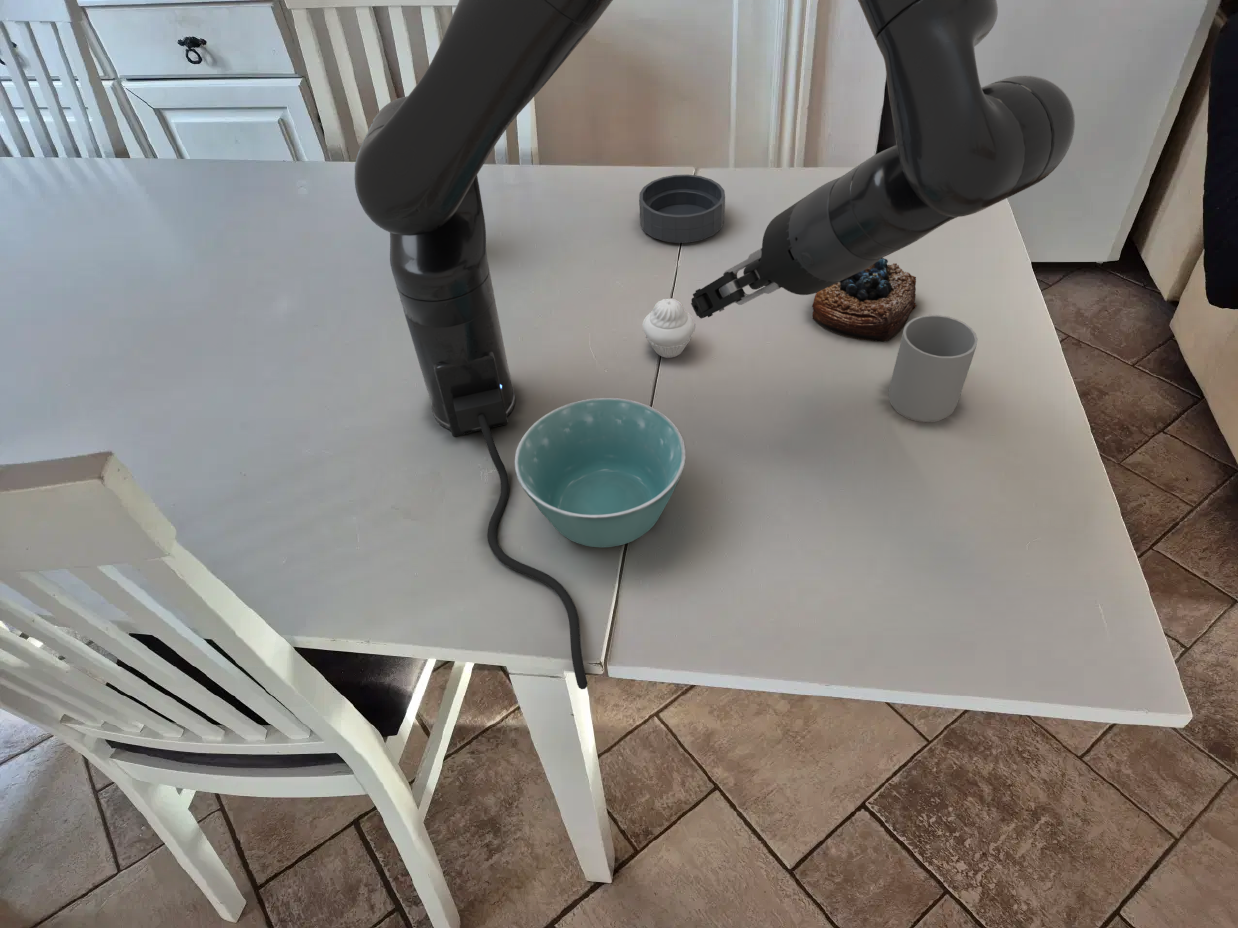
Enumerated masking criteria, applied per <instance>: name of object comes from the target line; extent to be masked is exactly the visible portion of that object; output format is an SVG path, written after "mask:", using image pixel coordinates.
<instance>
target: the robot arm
mask: <svg viewBox="0 0 1238 928" xmlns="http://www.w3.org/2000/svg"><path fill="white" fill-rule="evenodd" d="M613 1H614V0H458V2H457V4H456V7H455V9H454V11H453V13H452V16H451V17H450V21H449V23H448V25H447V27H446V30H445V32H444V33H443V37H442V38H441V41H440V44H439V46H438V48H437V50H436V52H435V54H434V56H433V58H432V60H431V62H430V63H429V65H428V67H427V69H426V70H425V72H424V74H423V75H422V76H421V77H420V79H419V80H418V83H417V84H416V85H415V87H414V88H413V89H412V90H411V92H410V93H409V94H408V96H402V97H399V98H396V99H393V100H392V101H390V102H388V103H387V104H386V105H384V106H383V107H382V108H381V109H380V110H379V111H378V112H377V114H376V115H375V116H374V118H373V120H372V121H371V124H370V126H369V127H368V130H367V133H366V134H365V137H364V139H363V141H362V143H361V145H360V147H359V149H358V152H357V154H356V159H355V164H354V177H353V180H354V188H355V192H356V197H357V199H358V202H359V204H360V206H361V208H362V209H363V211H364V213H365V215H366V216H367V217H368V218H369V219H370V220H371V222H373V223H374V224H375V225H376V226H377V227H379V228H380V229H382V230H383V231H386V232H388V233H389V264H390V269H391V272H392V276H393V279H394V284H395V286H396V289H397V293H398V296H399V300H400V303H401V306H402V310H403V313H404V317H405V321H406V323H407V328H408V331H409V334H410V338H411V341H412V345H413V347H414V351H415V354H416V358H417V360H418V364H419V367H420V368H419V369H420V371H421V375H422V378H423V381H424V385H425V387H426V388H425V389H426V391H427V395H428V398H429V401H430V404H431V405H430V406H431V411H432V414H433V417H434V419H435V421H436V422H437V423H438V424H439V425H440V426H442V427H443V428H445V429H447V430H450V431H451V435H452V436H453V437H457V436H463V435H467V434H473V433H475V432H480V431H481V433H482V436H483V438H484V441H485V444H486V447H487V449H488V452H489V454H490V458H491V461H492V462H493V465H494V466H495V468H496V471H497V474H498V476H499V480H500V492H499V493H500V494H499V498H498V501H497V503H496V506H495V508H494V511H493V512H492V515H491V517H490V520H489V523H488V526H487V531H486V532H487V533H486V536H487V543H488V546H489V548H490V550H491V552H492V554H493V555H494V556H495V557H496V559H497V560H498V561H499V562H501V563H502V564H503V565H504V566H506V567H508V568H509V569H511V570H514V571H515V572H518V573H520V574H523V575H524V576H527V577H529V578H532V579H534V580H536V581H539V582H541V583H542V584H544V585H546V586H547V587H549V588H550V589H551V590H553V592H555V593H556V594H557V596H558V597H559V599H560V600H561V602H562V604H563V606H564V608H565V611H566V613H567V617H568V622H569V623H568V624H569V625H568V626H569V639H570V641H569V642H570V653H571V661H572V667H573V672H574V678H575V681H576V685H577V687H578V688H579V689H580V690H585V689H587V688H588V684H589V682H588V679H587V675H586V671H585V665H584V660H583V653H582V641H581V627H580V619H579V614H578V610H577V607H576V605H575V601H574V600H573V598H572V597H571V595H570V594H569V592H568V591H567V590H566V588H565V587H564V586H563V585H562V584H561V583H560V582H559V581H558V580H557V579H555V578H554V577H552V576H551V575H550V574H547V573H545V572H544V571H542V570H539V569H538V568H537V569H536V568H534V567H532V566H529V565H527V564H525V563H522V562H520V561H518V560H515V559H514V558H512V557H510V556H509V555H508V554H506V553H505V551H504V550H502V548H501V546H500V544H499V542H498V539H497V529H498V526H499V523H500V520H501V518H502V515H503V514H504V511H505V509H506V505H507V503H508V499H509V494H510V481H509V480H510V479H509V475H508V471H507V469H506V466H505V464H504V462H503V460H502V458H501V455H500V453H499V450H498V448H497V445H496V442H495V439H494V437H493V434H492V431H491V429H493V428H497V427H501V426H505V425H508V423H509V420H508V417H509V415H511V413H512V411H513V410H514V409H515V408H514V407H515V405H516V393H515V389H514V387H513V384H512V383H513V382H512V378H511V373H510V368H509V363H508V359H507V354H506V349H505V348H506V347H505V342H504V338H503V332H502V327H501V323H500V317H499V311H498V307H497V303H496V302H497V301H496V297H495V291H494V286H493V281H492V276H491V270H490V265H489V259H488V253H487V229H486V219H485V213H484V207H483V201H482V196H481V195H482V194H481V190H480V183H479V177H478V174H479V172H480V171H481V169H482V168H483V166H484V165H485V163H486V161H487V159H488V158H489V156H490V155H491V153H492V151H493V150H494V148H495V146H496V145H497V143H498V142H499V140H500V139H501V137H502V136H503V134H504V133H505V132H506V130H507V129H508V127H510V125H511V124H512V123H513V121H514V120H515V119H516V118H517V117H518V115H519V114H520V113H521V112H522V111H523V110H524V109H525V108H526V106H527V105H528V104H529V103H530V102H531V101H532V100H533V99H534V97H535V96H536V95H537V94H538V93H539V92H540V91H541V90H542V89H543V87H544V86H545V85H546V84H547V83H548V81H549V80H550V79H551V78H552V77H553V76H554V74H555V73H556V72H557V71H558V70H559V69H560V67H561V66H562V65H563V64H564V63H565V61H566V60H567V59H568V57H569V56H570V55H571V54H572V53H573V52H574V50H575V49H576V48H577V47H578V45H579V44H580V43H581V42H582V41H583V39H584V38H585V37H586V36H587V35H588V33H589V32H590V31H591V30H592V28H593V27H594V25H595V24H596V23H597V22H598V21H599V19H600V18H601V16H603V14H604V13H605V11H607V9H608V8H609V7H610V5H611V3H612V2H613ZM857 2H858V3H859V7H860V9H861V11H862V13H863V15H864V18H865V20H866V22H867V25H868V27H869V29H870V31H871V34H872V36H873V39H874V40H875V44H876V45H877V48H878V49H879V51H880V54H881V55H882V58H883V61H884V65H885V76H886V85H887V92H888V99H889V106H890V110H891V116H892V124H893V130H894V131H893V132H894V136H895V138H894V139H895V143H896V144H895V145H893V146H891V147H888V148H887V149H884V150H882V151H880V152H878V153H876V154H874V155H872V156H871V157H869V158H867V159H866V160H864V161H863V162H861V163H860V164H858V165H857V166H855V167H854V168H852V169H851V170H848V172H846V173H845V174H843V175H842V176H839V177H837V178H834V179H832V180H830V181H827V182H826V183H824V184H822V185H820V186H819V187H818V188H816V189H815V190H813V191H812V192H810V193H809V194H807V195H806V196H804V197H802V198H801V199H799V200H798V201H797V202H795V203H794V204H792V205H790V206H789V207H788V208H786V209H785V210H783V211H781V212H780V213H778V214H777V215H775V217H773V218H772V219H771V220H770V222H769V223H768V225H767V226H766V228H765V230H764V232H763V236H762V242H761V243H762V244H761V248H759V249H757V250H755V251H753V252H752V253H750V254H749V255H748V258H746V259H745V260H743V261H741V262H740V263H737V264H735V265H734V266H732V267H730V268H728V269H726V270H725V271H724V272H723V273H722V275H721V276H720V277H718V278H717V279H714V281H711V282H710V283H708V284H707V285H705V286H704V287H701V288H698V289H696V290H695V291H694V293H692V296H693V297H692V298H691V302H690V305H691V308H692V309H693V312H694V313H695V316H696V317H698V318H699V319H700V320H701V319H705V318H710V317H712V316H714V314H715V313H717V312H719V313H720V312H722V311H724V310H725V308H727V307H728V306H731V305H732V304H734V303H735V304H737V305H739V306H741V305H744V304H747V303H749V302H750V301H752V300H754V299H755V298H758V297H760V296H762V295H764V294H766V295H767V294H768V295H769V294H772V293H773V292H775V291H777V290H780V289H784V290H785V291H788V292H789V293H791V294H794V295H800V296H810V295H814V294H816V293H817V292H819V291H821V290H823V289H825V288H827V287H829V286H831V285H834V284H836V283H838V282H840V281H842V280H844V279H846V278H848V277H850V276H853V275H855V274H857V273H859V272H861V271H863V270H865V269H867V268H869V267H870V266H872V265H873V264H874V263H876V262H877V261H878V260H880V259H881V258H886V257H888V256H889V255H892V254H893V253H896V252H898V251H901V250H902V249H904V248H906V247H908V246H910V245H912V244H914V243H915V242H918V241H919V240H921V239H922V238H924V237H926V236H927V235H929V234H930V233H932V232H933V231H934V230H936V229H938V228H940V227H942V226H943V225H945V224H947V223H948V222H950V221H953V220H954V219H957V218H961V217H967V216H971V215H975V214H977V213H979V212H981V211H984V210H986V209H987V208H990V207H992V206H994V205H996V204H997V203H1000V202H1003V201H1004V200H1007V199H1008V198H1010V197H1013V196H1015V195H1016V194H1018V193H1021V192H1023V191H1025V190H1027V189H1029V188H1032V187H1033V186H1034V185H1037V184H1038V183H1040V182H1042V181H1043V180H1045V179H1046V178H1047V177H1048V176H1050V175H1051V174H1052V173H1053V172H1054V171H1055V170H1056V169H1057V167H1059V165H1060V164H1061V163H1062V162H1063V160H1064V158H1066V157H1065V156H1066V155H1067V153H1068V152H1069V150H1070V147H1071V145H1072V142H1073V139H1074V135H1075V129H1076V115H1075V111H1074V107H1073V104H1072V102H1071V100H1070V98H1069V96H1068V95H1067V93H1065V91H1064V90H1063V89H1062V88H1061V87H1060V86H1059V85H1057V84H1056V83H1054V82H1052V81H1050V80H1049V79H1045V78H1042V77H1039V76H1033V75H1016V76H1010V77H1005V78H1003V79H1000V80H999V79H998V80H997V81H994V82H991V83H990V84H986V85H984V86H982V85H981V82H980V77H979V72H978V65H977V60H976V51H975V47H976V46H977V45H979V44H980V43H981V42H982V41H983V40H984V39H985V38H987V36H988V35H989V34H990V32H991V31H992V29H993V28H994V26H995V25H996V22H997V19H998V15H999V14H998V13H999V11H998V8H999V7H998V1H997V0H857ZM741 270H743V273H742V274H743V275H741V276H740V277H738V273H739V271H741ZM747 286H748V287H749V288H750V289H751V290H754V292H752V293H749V294H748V293H746V292H745V290H744V289H745V288H746V287H747ZM755 290H756V291H755Z"/></svg>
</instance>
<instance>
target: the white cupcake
mask: <svg viewBox="0 0 1238 928" xmlns="http://www.w3.org/2000/svg"><path fill="white" fill-rule="evenodd" d="M695 330H696V321H695V319H694V317H693V316H692V314H691V313H689V312H688V311H686V310H685V307H684V305H683V304H682V302H680V301H679V300H678V299H675V298H668V297H666V298H665V299H664V298H662V299H661V300H658V301H657V302H656V303H655V304H654V307H653V308H652V310H651V311H650V312H649V313H648V314H647V315H646V316H645V317H644V319H643V321H642V332H643V333H644V336H645V338H646V341H647V342H648V344H649V345H650V346H651V347H652V350H654V352H655V353H656V354H657V355H658V356H660V358H661V357H662V358H665V359H666V358H667V359H670V358H676V357H677V356H679V355H681V354H682V353H683V351H684V350H685V348H686V347H687V345H688V344H689V343H690V341H691V340H692V338H693V335H694V333H695Z"/></svg>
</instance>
